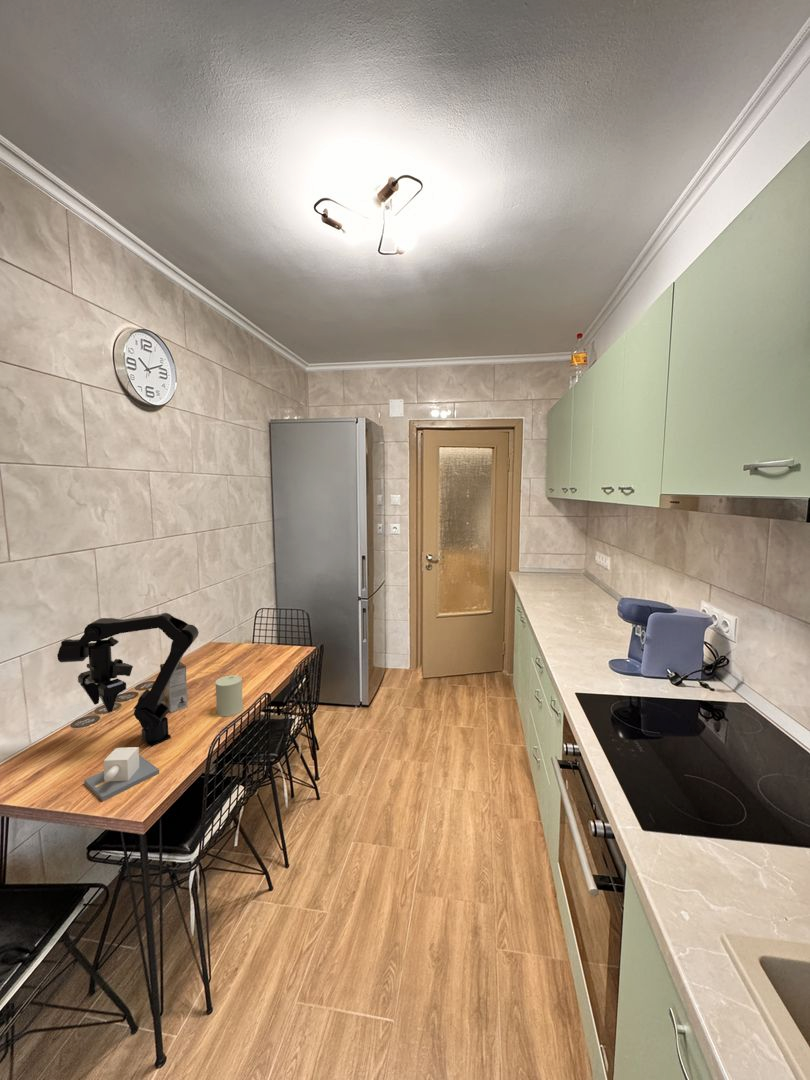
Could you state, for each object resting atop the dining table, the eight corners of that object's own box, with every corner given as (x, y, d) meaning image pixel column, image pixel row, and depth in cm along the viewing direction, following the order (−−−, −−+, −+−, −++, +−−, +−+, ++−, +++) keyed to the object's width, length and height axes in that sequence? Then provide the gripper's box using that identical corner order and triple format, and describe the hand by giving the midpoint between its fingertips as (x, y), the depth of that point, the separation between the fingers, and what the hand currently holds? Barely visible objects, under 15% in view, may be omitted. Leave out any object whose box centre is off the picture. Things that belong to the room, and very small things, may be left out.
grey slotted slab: (139, 758, 129) (138, 743, 129) (159, 773, 122) (158, 757, 122) (84, 783, 118) (83, 767, 117) (102, 801, 111) (101, 784, 110)
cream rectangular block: (139, 767, 123) (138, 747, 122) (120, 789, 113) (119, 767, 113) (117, 768, 122) (116, 747, 122) (96, 790, 113) (95, 768, 112)
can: (246, 704, 163) (245, 673, 162) (238, 716, 154) (237, 684, 153) (222, 704, 163) (220, 674, 162) (212, 716, 154) (210, 684, 153)
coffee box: (161, 705, 163) (159, 664, 161) (179, 699, 167) (177, 659, 166) (170, 713, 157) (168, 670, 155) (188, 706, 161) (186, 665, 160)
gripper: (143, 658, 136) (145, 705, 137) (114, 646, 146) (117, 691, 147) (103, 669, 126) (106, 720, 128) (75, 656, 136) (78, 704, 138)
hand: (103, 707), depth 135 cm, fingers open, 9 cm apart
